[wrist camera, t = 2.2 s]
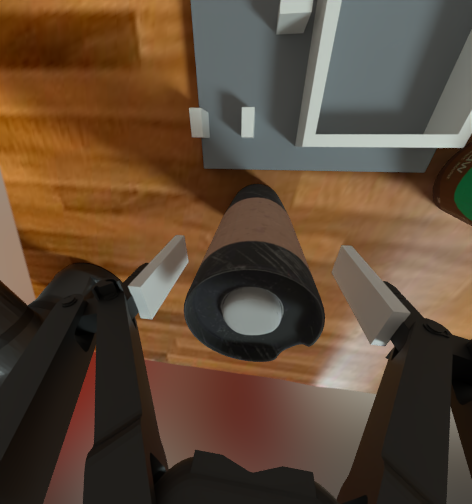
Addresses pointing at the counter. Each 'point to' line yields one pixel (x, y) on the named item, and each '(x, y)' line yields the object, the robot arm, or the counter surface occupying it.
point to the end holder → (435, 136)
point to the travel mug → (254, 283)
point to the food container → (456, 186)
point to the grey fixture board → (337, 82)
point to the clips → (289, 22)
